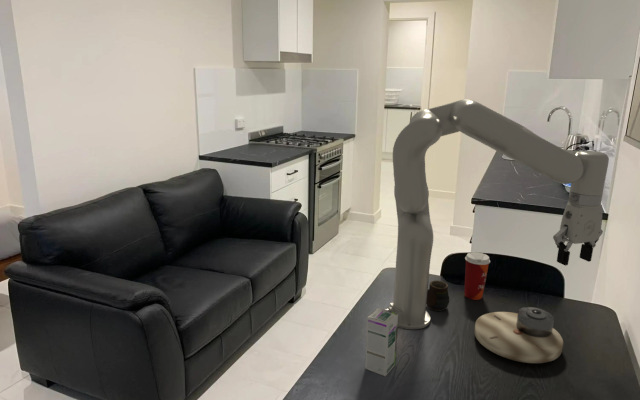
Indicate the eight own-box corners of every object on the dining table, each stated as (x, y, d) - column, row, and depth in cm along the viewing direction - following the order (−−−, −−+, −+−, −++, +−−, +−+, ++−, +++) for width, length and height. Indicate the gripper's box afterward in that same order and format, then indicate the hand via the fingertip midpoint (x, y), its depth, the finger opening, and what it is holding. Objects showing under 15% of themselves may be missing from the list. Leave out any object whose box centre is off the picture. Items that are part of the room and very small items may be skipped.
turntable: (514, 370, 116) (515, 363, 115) (458, 325, 136) (458, 318, 135) (581, 353, 124) (582, 346, 123) (519, 312, 143) (520, 306, 143)
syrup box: (386, 377, 115) (389, 323, 111) (364, 368, 118) (366, 316, 114) (395, 365, 120) (399, 313, 116) (374, 357, 123) (377, 306, 119)
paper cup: (487, 302, 152) (492, 261, 148) (462, 299, 154) (466, 259, 150) (484, 291, 160) (489, 252, 156) (460, 289, 161) (464, 250, 157)
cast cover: (533, 340, 125) (536, 322, 124) (509, 323, 133) (511, 306, 132) (559, 333, 129) (562, 316, 127) (534, 317, 137) (536, 301, 135)
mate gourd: (440, 300, 153) (443, 271, 150) (453, 312, 146) (457, 282, 143) (420, 303, 151) (423, 274, 148) (433, 315, 144) (436, 285, 141)
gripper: (571, 205, 118) (560, 271, 123) (621, 200, 124) (609, 262, 129) (547, 197, 125) (538, 260, 130) (596, 192, 131) (585, 252, 136)
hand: (573, 261), depth 130 cm, fingers open, 7 cm apart
